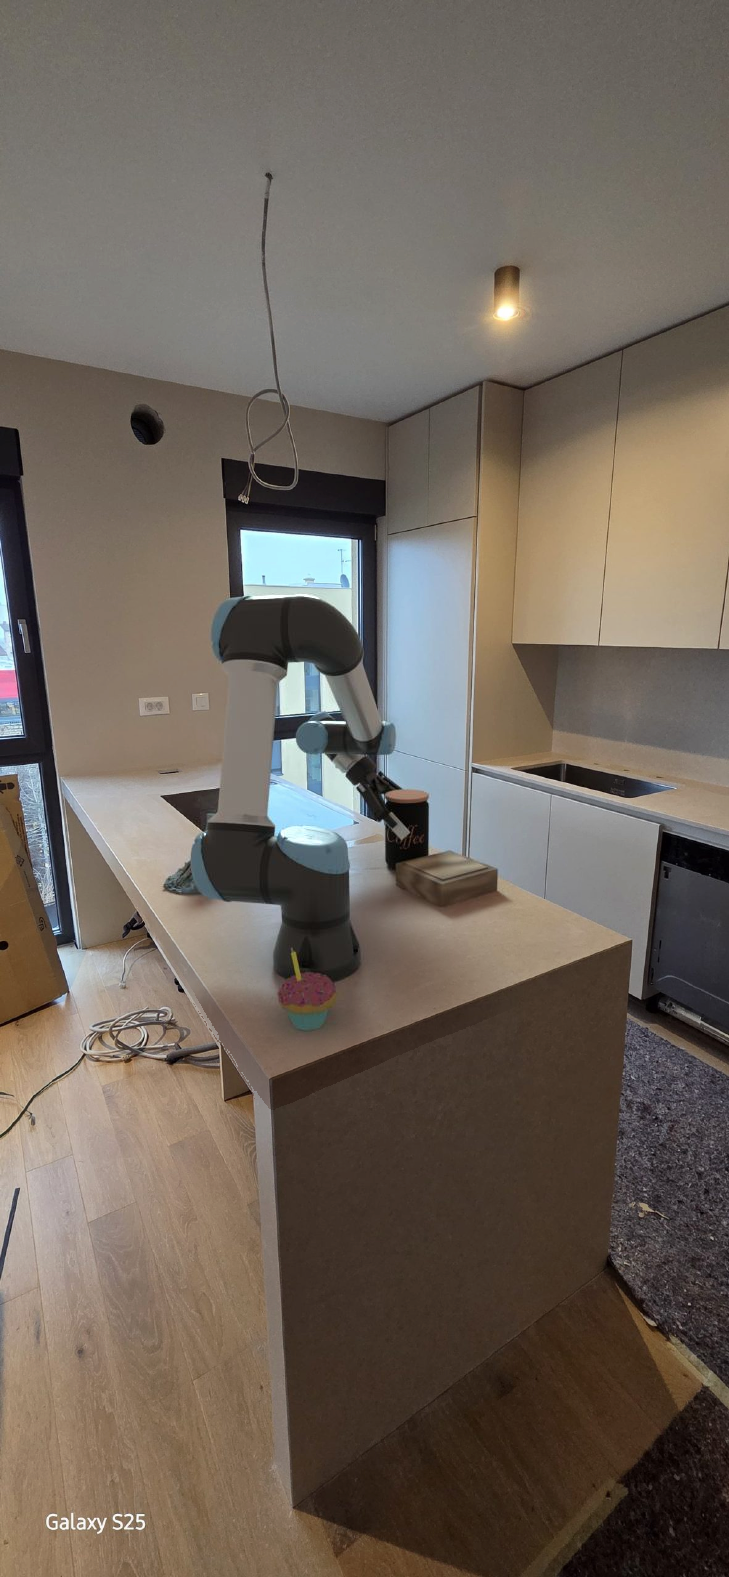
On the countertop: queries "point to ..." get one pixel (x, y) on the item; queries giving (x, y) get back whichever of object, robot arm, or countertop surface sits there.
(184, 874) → the tree stump
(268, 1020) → the countertop surface
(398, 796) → the coffee jar
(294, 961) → the cupcake
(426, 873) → the wooden tray
